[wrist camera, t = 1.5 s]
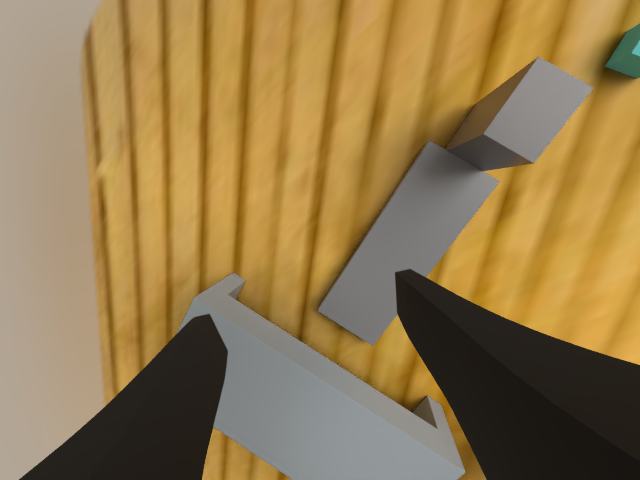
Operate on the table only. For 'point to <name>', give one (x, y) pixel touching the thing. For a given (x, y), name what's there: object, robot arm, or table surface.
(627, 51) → the alien figure
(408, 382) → the table surface
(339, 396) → the grey bench
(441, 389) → the robot arm
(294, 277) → the table surface
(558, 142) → the table surface
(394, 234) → the scraper
